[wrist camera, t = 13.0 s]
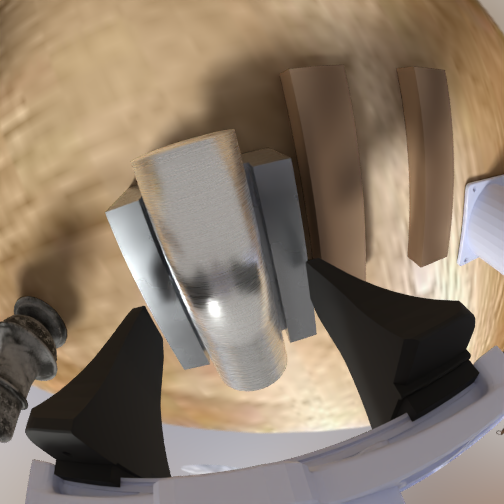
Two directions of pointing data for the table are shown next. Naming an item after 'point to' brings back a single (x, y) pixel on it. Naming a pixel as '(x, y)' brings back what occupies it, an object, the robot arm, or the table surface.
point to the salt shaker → (26, 356)
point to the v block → (273, 242)
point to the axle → (216, 253)
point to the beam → (349, 171)
